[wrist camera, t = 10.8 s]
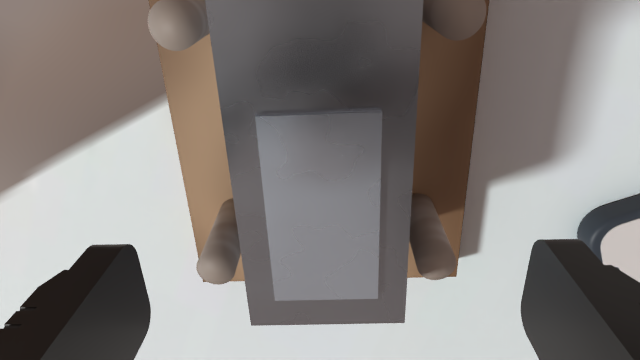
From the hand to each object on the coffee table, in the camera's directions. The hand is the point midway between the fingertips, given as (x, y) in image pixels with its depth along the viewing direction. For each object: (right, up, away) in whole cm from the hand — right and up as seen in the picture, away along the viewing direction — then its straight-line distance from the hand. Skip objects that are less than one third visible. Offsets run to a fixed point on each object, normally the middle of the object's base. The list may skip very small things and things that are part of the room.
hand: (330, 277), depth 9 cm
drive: (0, +4, +9) cm, 10 cm away
